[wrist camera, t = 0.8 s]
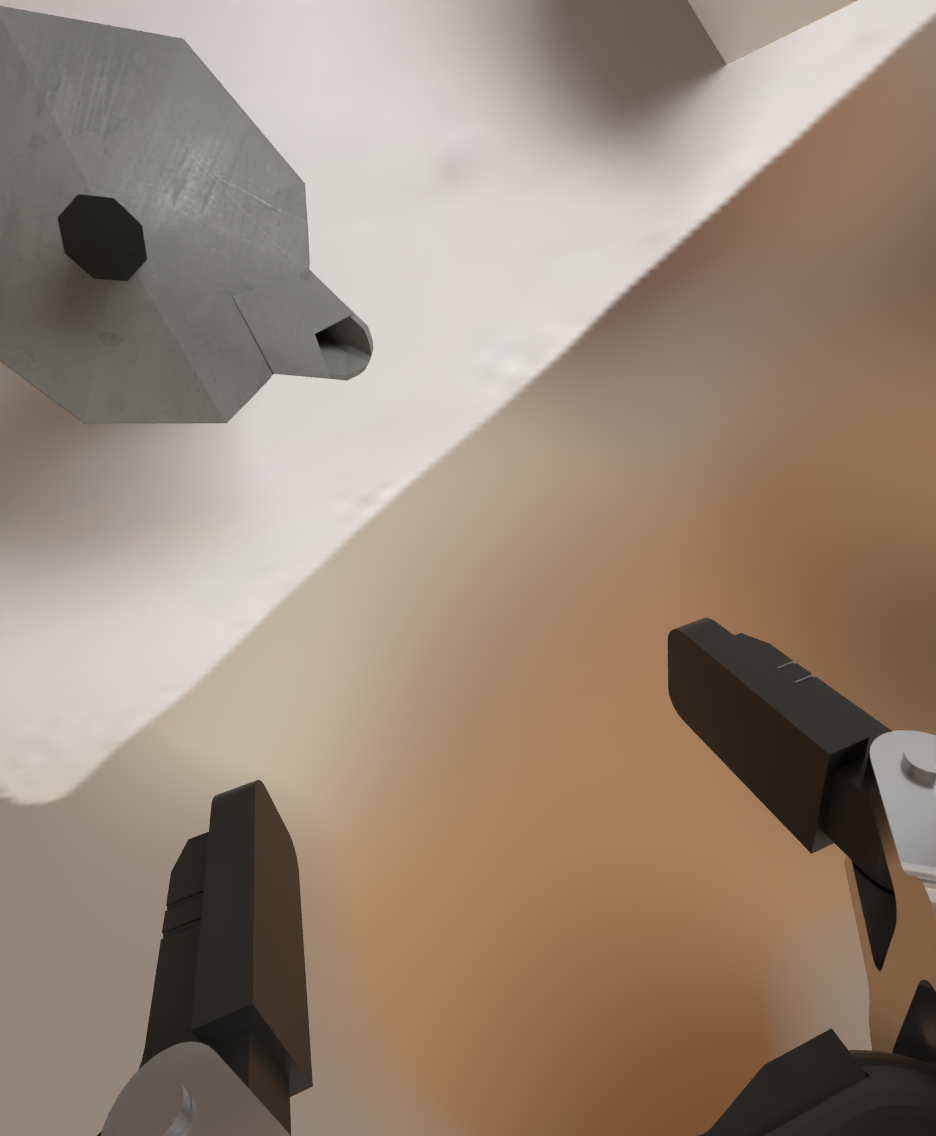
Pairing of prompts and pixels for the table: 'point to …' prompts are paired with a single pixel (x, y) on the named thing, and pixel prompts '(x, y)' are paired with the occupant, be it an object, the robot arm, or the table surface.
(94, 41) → the coffeepot
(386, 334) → the table surface
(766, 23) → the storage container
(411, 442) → the table surface
